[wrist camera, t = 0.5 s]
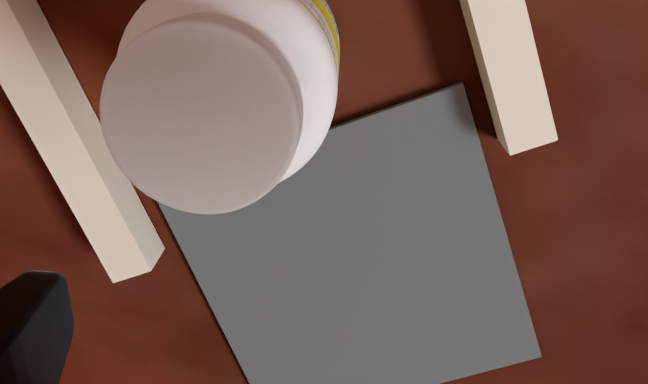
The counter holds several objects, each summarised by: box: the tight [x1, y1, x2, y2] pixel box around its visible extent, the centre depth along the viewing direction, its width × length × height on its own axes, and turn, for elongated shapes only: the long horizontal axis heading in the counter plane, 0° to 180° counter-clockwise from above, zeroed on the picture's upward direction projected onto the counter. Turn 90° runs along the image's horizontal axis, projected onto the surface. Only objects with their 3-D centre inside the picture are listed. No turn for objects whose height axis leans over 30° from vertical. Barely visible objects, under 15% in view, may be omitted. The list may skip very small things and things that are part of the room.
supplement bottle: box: [100, 0, 340, 214], centre depth 16 cm, size 5×5×10 cm
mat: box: [157, 82, 542, 384], centre depth 24 cm, size 12×12×1 cm
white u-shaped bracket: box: [0, 0, 558, 283], centre depth 20 cm, size 14×17×2 cm
